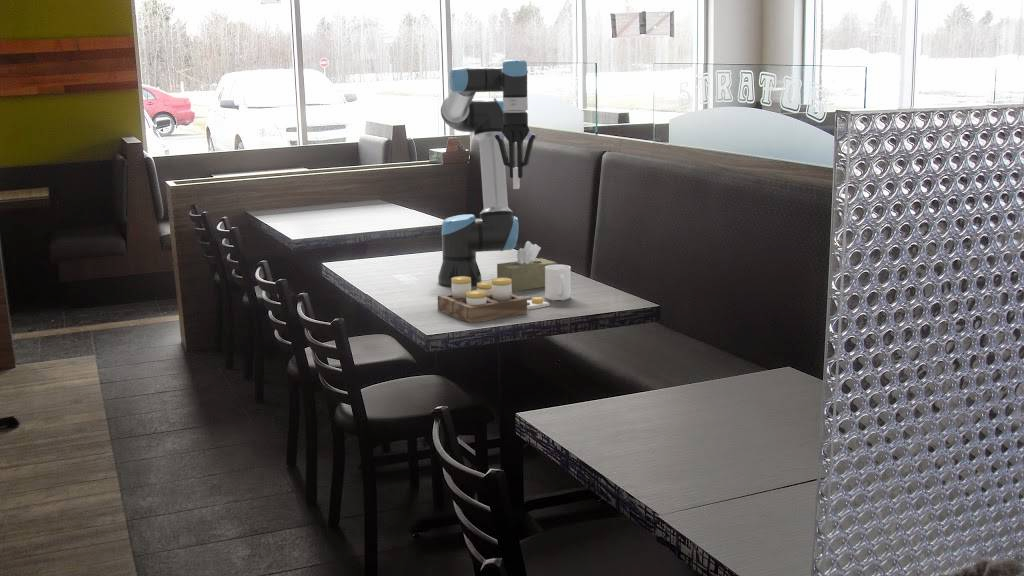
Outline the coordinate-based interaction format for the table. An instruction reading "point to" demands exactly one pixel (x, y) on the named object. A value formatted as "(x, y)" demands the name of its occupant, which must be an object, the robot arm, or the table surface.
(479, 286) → the button
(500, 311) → the board
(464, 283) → the button
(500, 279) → the button
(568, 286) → the mug
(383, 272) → the table surface
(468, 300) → the button
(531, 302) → the card
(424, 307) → the table surface
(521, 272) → the tissue box
